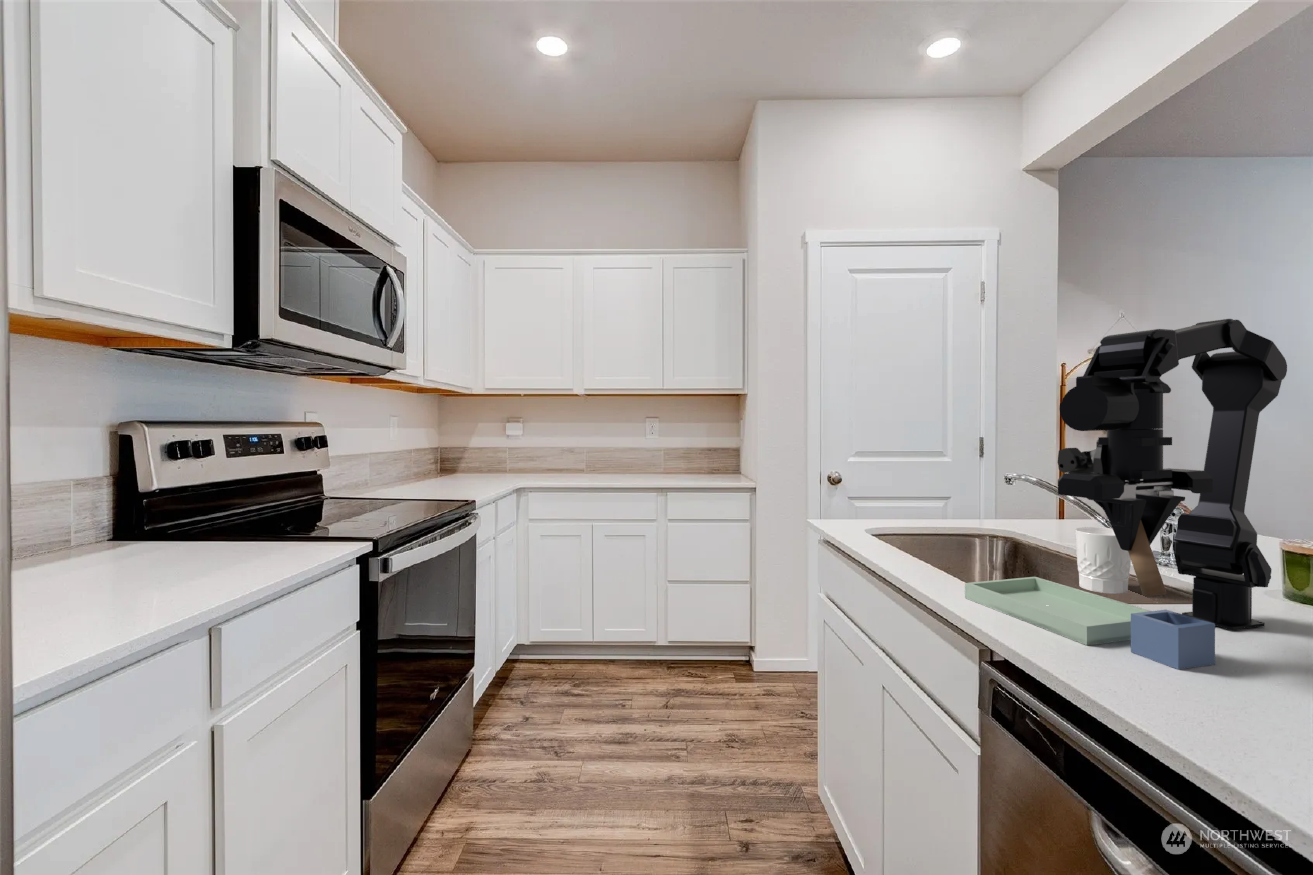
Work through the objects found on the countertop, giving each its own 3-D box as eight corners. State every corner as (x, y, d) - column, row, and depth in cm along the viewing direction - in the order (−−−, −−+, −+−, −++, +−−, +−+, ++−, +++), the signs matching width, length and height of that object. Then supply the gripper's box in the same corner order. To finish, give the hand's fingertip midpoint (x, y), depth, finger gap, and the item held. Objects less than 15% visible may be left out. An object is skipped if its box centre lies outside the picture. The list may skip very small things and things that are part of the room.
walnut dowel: (1126, 587, 80) (1126, 511, 80) (1171, 599, 75) (1171, 517, 75) (1112, 589, 80) (1112, 512, 80) (1156, 601, 74) (1156, 518, 74)
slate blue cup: (1165, 647, 77) (1165, 609, 77) (1214, 664, 72) (1215, 623, 72) (1130, 651, 76) (1130, 613, 76) (1178, 669, 70) (1178, 628, 70)
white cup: (1142, 596, 99) (1142, 535, 99) (1089, 594, 100) (1088, 534, 100) (1116, 583, 107) (1116, 527, 106) (1066, 582, 108) (1066, 526, 108)
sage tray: (1035, 591, 103) (1035, 576, 103) (1171, 634, 81) (1171, 616, 81) (964, 598, 100) (964, 583, 100) (1086, 645, 78) (1086, 626, 78)
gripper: (1129, 427, 88) (1129, 534, 88) (1022, 430, 83) (1023, 542, 84) (1216, 427, 77) (1216, 549, 77) (1098, 431, 72) (1098, 559, 73)
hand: (1134, 549), depth 78 cm, fingers closed on walnut dowel, 2 cm apart
